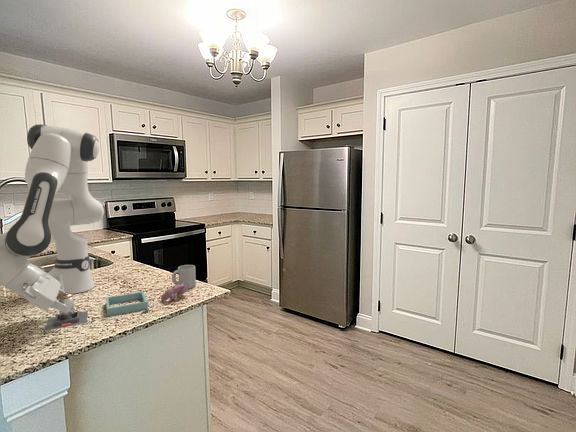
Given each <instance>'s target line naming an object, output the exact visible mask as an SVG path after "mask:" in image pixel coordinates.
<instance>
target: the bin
mask: <svg viewBox="0 0 576 432" xmlns="http://www.w3.org/2000/svg"><path fill="white" fill-rule="evenodd" d="M105 301H106V302H105V303H106V316H107V317H111V316H117V315H122V314H123V315H124V314H128V313H132V312H133V313H134V312H137V311H142V312H141V313H140V315H143V314H148V313H149V303H148V300H147V297H146V294H145V292H144V291H139V292H137V291H136V292H133V293H132V292H131V293H127V294H120V295H114V296H106V297H105ZM131 301H138V302H134V303H129V304H124V305H119V306H112V307H110V305H113V304H119V303H127V302H131ZM139 301H140V302H139ZM141 301H142V302H141ZM143 310H144V311H143Z"/></svg>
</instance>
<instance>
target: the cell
mask: <svg viewBox="0 0 576 432" xmlns="http://www.w3.org/2000/svg"><path fill="white" fill-rule="evenodd" d="M57 300H58V301H59V302H60V303H62V304H66V305H68V309H67V310H66V311H65V312H62V311H60V310H58V313H59V314H58V315H59V316H60V321H62V320H67V319H73V318H75V314H74V312H75V303H74V294H73V293H63V294H60V295H58V296H57Z"/></svg>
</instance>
